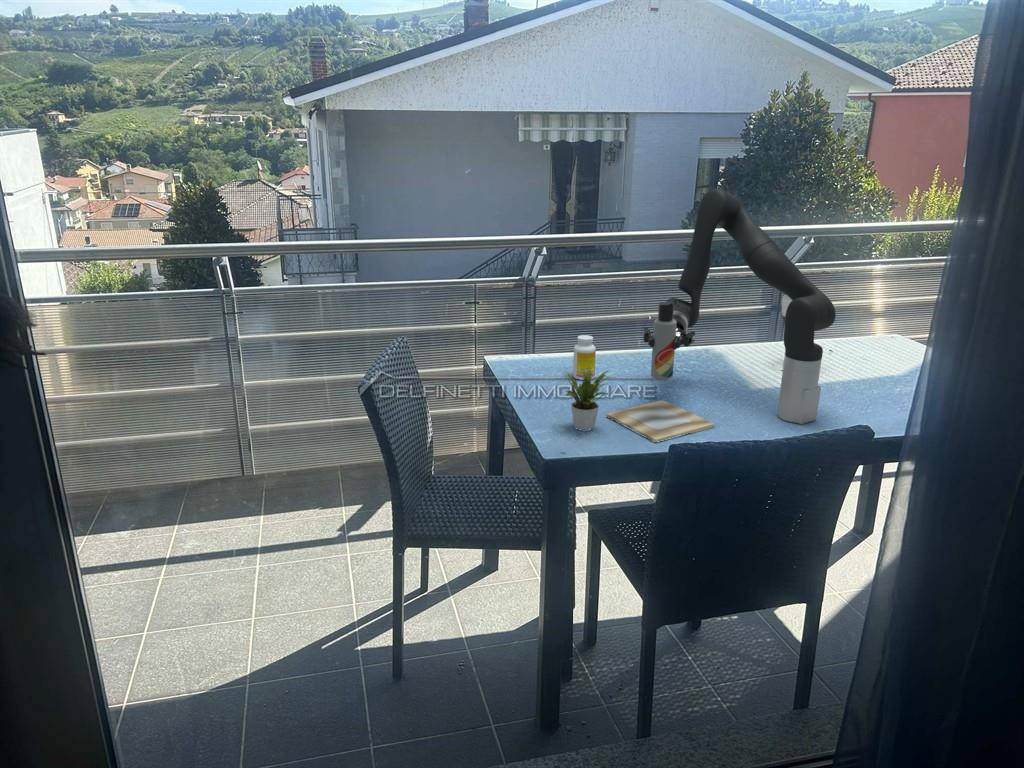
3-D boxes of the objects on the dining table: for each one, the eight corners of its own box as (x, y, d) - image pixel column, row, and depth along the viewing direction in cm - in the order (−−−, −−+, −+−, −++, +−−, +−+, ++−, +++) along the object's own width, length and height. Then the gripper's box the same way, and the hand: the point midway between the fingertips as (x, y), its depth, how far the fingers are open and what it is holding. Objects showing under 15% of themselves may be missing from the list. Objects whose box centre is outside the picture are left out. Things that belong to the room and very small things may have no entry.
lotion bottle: (672, 380, 203) (677, 305, 196) (650, 379, 204) (654, 304, 197) (673, 373, 208) (678, 299, 201) (651, 372, 209) (655, 298, 202)
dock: (714, 427, 206) (714, 423, 205) (655, 443, 196) (656, 439, 195) (662, 403, 222) (662, 399, 221) (605, 417, 212) (606, 413, 211)
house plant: (623, 436, 200) (627, 375, 194) (572, 442, 196) (574, 380, 190) (602, 416, 212) (604, 358, 207) (553, 421, 209) (555, 362, 203)
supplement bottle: (598, 379, 240) (600, 339, 236) (579, 382, 238) (580, 341, 233) (588, 372, 246) (589, 333, 242) (569, 375, 244) (570, 335, 239)
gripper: (647, 311, 216) (636, 327, 201) (700, 316, 212) (693, 333, 197) (645, 337, 219) (634, 355, 204) (698, 342, 215) (690, 361, 200)
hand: (663, 344), depth 201 cm, fingers closed on lotion bottle, 5 cm apart
